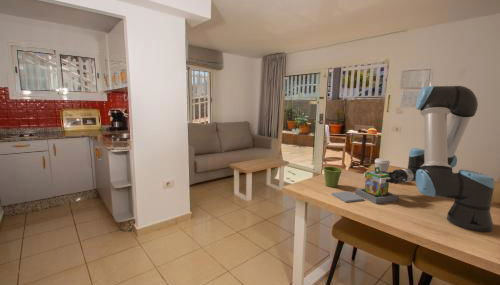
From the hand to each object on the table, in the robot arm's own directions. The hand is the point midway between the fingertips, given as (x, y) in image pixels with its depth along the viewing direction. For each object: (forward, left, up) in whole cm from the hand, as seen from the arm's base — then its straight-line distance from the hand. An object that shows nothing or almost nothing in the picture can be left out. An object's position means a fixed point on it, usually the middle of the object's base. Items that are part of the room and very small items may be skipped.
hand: (371, 177), depth 133 cm
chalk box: (0, -4, -9) cm, 10 cm away
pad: (+4, +12, -12) cm, 17 cm away
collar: (0, -4, -12) cm, 12 cm away
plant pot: (+24, +8, -12) cm, 28 cm away
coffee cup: (+26, -34, -12) cm, 44 cm away
